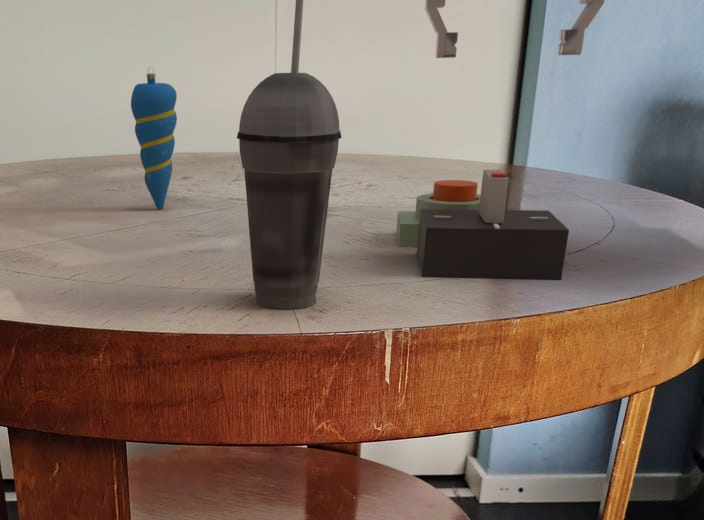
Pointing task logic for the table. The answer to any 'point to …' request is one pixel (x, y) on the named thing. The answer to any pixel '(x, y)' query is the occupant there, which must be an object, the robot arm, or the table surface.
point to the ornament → (155, 133)
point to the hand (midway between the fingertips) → (506, 56)
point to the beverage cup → (288, 180)
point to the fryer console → (491, 245)
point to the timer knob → (493, 196)
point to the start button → (455, 191)
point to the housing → (410, 219)
